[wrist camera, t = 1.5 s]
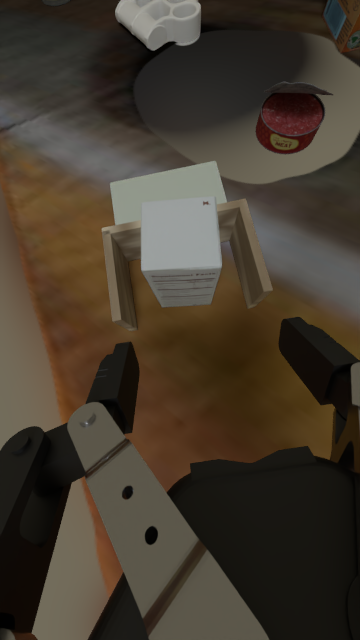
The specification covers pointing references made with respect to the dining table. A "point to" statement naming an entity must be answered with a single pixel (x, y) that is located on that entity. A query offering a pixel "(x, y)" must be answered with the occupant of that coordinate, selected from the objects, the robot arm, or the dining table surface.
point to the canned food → (290, 117)
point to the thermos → (54, 2)
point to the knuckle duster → (161, 21)
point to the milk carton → (343, 23)
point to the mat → (165, 189)
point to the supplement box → (181, 250)
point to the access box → (233, 227)
